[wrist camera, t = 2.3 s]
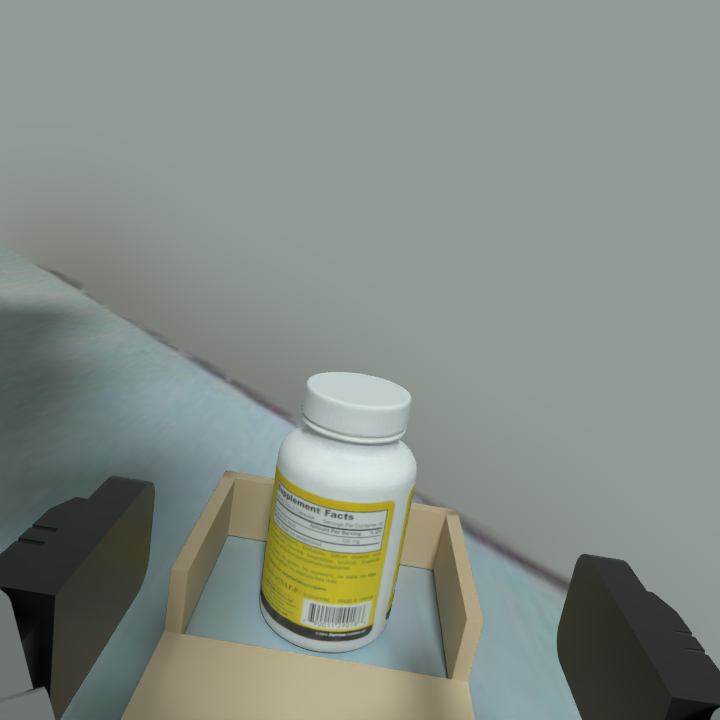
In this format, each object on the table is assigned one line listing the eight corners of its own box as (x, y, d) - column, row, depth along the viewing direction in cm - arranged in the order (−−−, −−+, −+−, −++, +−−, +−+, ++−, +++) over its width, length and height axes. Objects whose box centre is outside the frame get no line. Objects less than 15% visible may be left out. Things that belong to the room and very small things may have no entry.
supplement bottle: (320, 558, 30) (353, 359, 27) (412, 618, 27) (460, 400, 24) (228, 603, 26) (258, 374, 23) (325, 681, 22) (372, 425, 20)
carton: (512, 965, 15) (543, 870, 14) (42, 888, 15) (48, 789, 14) (444, 564, 31) (457, 510, 30) (218, 526, 31) (225, 470, 30)
